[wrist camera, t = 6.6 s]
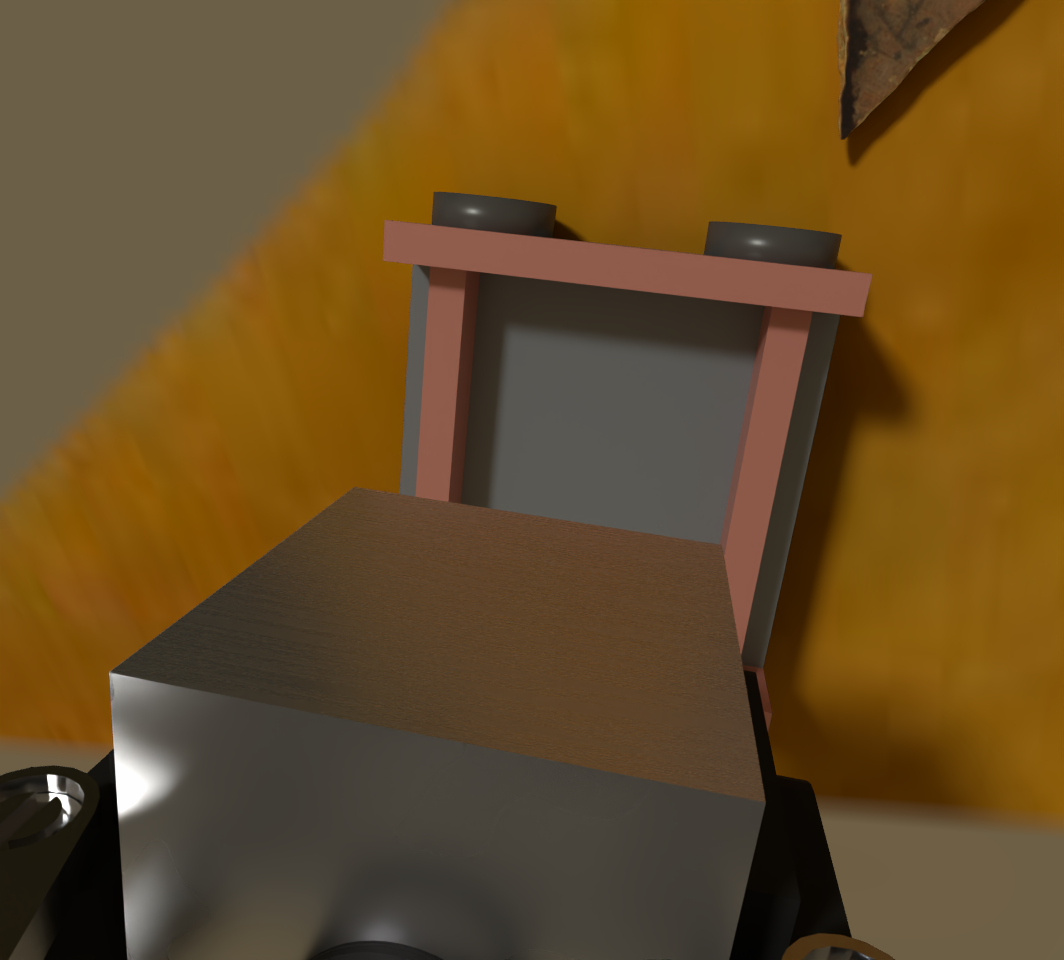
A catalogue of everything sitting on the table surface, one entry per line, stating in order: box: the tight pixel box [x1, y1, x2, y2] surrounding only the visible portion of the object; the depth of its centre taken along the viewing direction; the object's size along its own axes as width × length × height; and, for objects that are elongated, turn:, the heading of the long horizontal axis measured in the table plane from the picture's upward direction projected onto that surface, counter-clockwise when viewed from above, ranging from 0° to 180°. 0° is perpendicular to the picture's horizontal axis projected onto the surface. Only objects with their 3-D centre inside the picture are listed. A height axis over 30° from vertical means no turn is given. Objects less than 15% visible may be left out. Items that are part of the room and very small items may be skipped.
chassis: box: [383, 192, 872, 731], centre depth 24 cm, size 12×15×6 cm
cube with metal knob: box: [109, 487, 766, 960], centre depth 9 cm, size 5×6×6 cm
